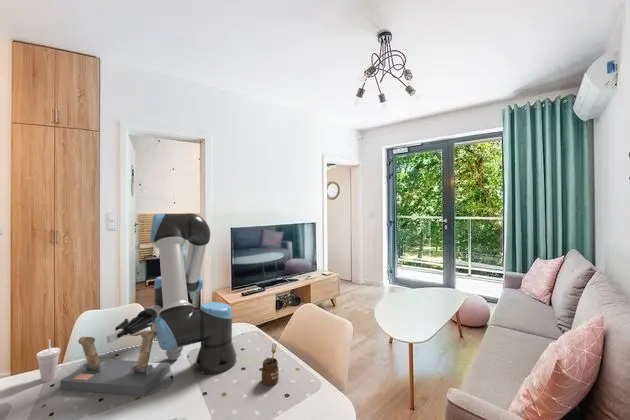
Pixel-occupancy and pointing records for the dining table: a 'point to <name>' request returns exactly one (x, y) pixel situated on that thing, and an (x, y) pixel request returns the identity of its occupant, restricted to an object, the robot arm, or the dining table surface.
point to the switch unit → (116, 377)
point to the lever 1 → (90, 352)
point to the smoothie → (48, 363)
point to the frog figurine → (174, 353)
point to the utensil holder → (270, 369)
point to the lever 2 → (145, 351)
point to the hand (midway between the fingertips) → (108, 339)
